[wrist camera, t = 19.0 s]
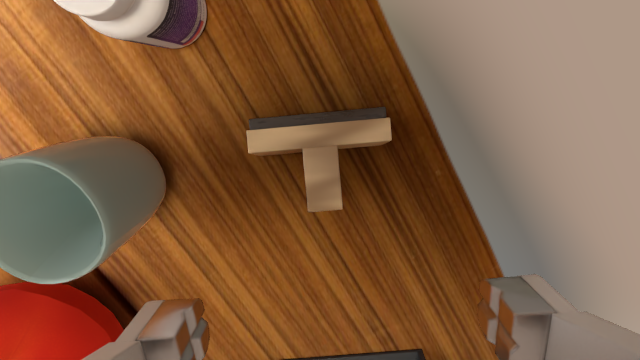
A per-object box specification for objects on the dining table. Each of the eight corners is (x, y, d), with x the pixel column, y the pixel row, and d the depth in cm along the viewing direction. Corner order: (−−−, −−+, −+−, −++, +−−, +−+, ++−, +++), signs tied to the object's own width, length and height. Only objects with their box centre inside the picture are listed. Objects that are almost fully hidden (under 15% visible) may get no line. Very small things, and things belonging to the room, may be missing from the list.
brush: (390, 104, 22) (398, 204, 22) (378, 116, 27) (385, 198, 27) (243, 117, 22) (252, 217, 22) (258, 127, 27) (265, 208, 27)
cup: (196, 194, 28) (135, 255, 19) (121, 229, 29) (25, 304, 20) (145, 111, 26) (46, 131, 16) (65, 152, 27) (-73, 193, 17)
